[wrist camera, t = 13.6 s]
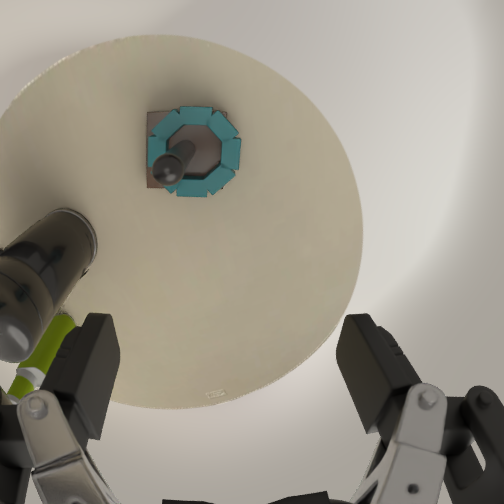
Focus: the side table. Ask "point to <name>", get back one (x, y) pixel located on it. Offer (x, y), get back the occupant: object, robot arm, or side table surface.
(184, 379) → the side table surface
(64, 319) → the vape
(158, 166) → the peg stand
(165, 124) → the ring
